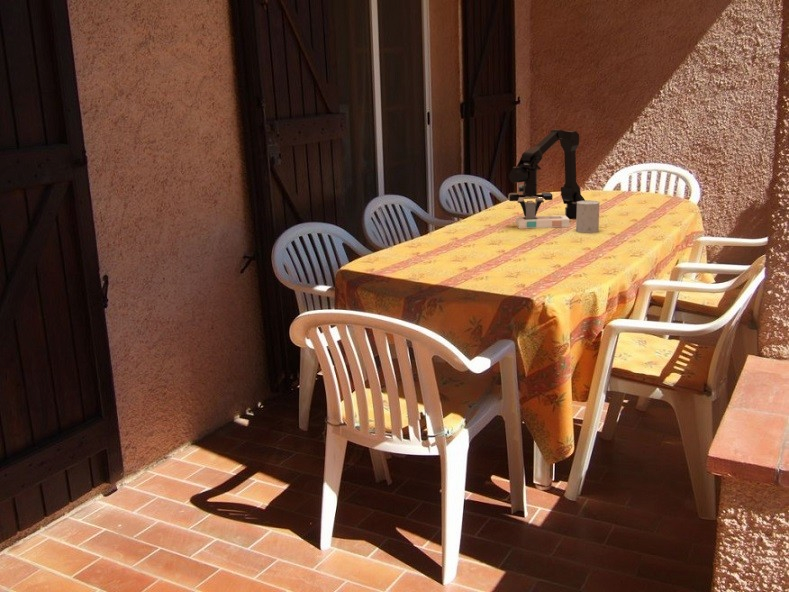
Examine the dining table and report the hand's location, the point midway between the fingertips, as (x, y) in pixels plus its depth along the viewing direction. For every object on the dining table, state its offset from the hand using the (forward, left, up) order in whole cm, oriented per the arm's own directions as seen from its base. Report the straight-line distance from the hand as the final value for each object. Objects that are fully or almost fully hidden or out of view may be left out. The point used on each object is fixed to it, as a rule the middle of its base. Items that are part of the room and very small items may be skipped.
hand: (530, 216), depth 387 cm
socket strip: (-5, 0, -4) cm, 7 cm away
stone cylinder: (-22, +14, -5) cm, 27 cm away
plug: (0, 0, -3) cm, 3 cm away
